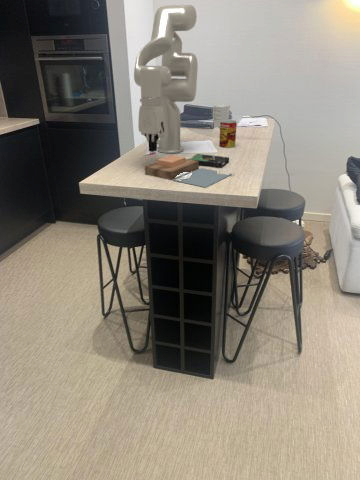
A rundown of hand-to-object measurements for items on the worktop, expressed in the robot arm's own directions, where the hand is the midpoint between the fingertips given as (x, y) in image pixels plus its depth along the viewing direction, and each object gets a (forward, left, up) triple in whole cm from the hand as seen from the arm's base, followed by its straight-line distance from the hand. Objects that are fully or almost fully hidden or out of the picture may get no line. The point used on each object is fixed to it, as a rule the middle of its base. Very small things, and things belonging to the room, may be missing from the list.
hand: (152, 151), depth 149 cm
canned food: (+6, +51, -7) cm, 52 cm away
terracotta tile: (+9, +1, -4) cm, 10 cm away
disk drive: (+15, +19, -8) cm, 25 cm away
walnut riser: (+9, +1, -7) cm, 12 cm away
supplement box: (-23, +94, -7) cm, 97 cm away
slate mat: (+24, +1, -7) cm, 25 cm away
